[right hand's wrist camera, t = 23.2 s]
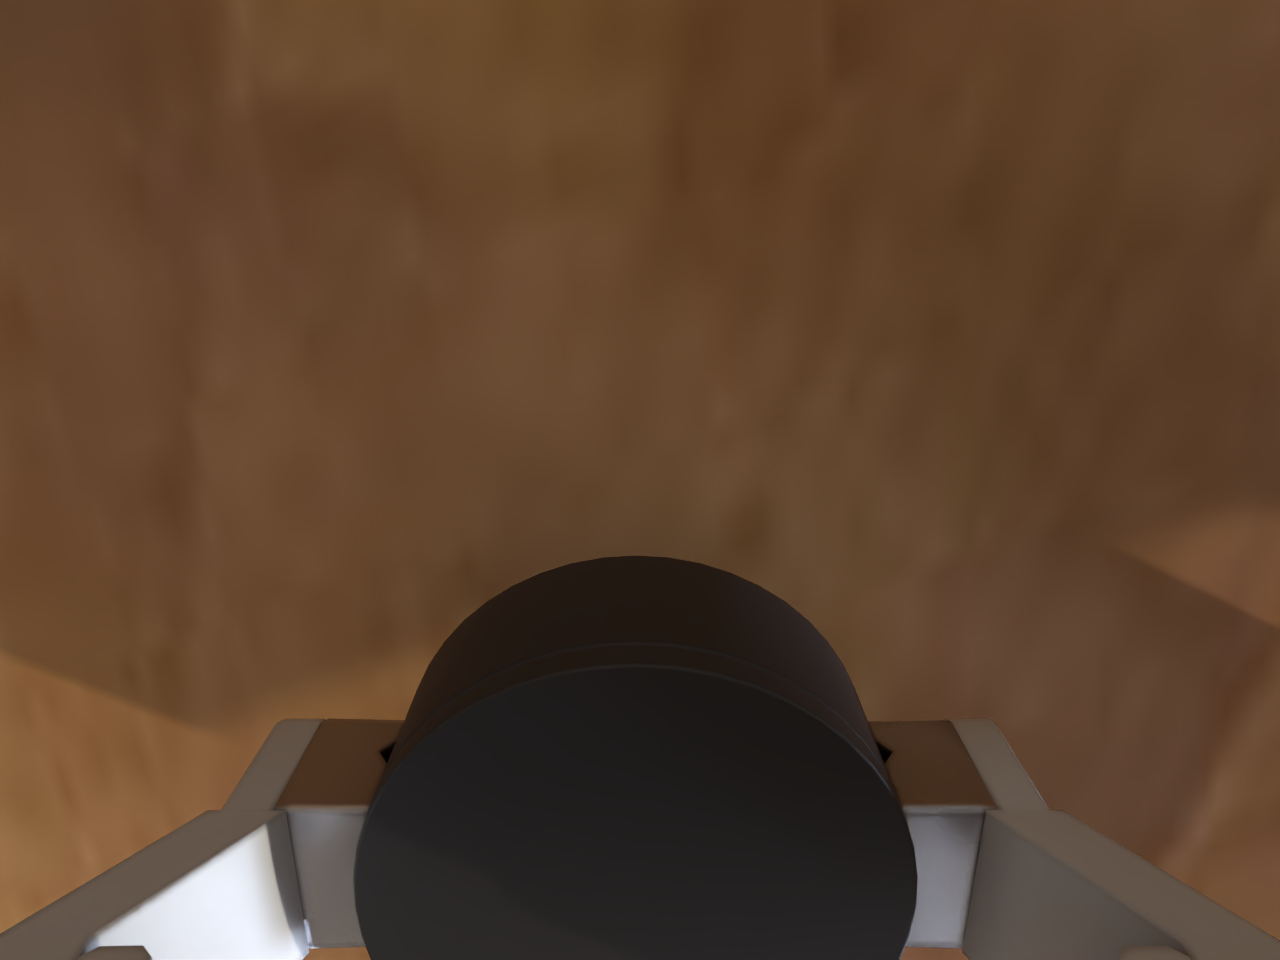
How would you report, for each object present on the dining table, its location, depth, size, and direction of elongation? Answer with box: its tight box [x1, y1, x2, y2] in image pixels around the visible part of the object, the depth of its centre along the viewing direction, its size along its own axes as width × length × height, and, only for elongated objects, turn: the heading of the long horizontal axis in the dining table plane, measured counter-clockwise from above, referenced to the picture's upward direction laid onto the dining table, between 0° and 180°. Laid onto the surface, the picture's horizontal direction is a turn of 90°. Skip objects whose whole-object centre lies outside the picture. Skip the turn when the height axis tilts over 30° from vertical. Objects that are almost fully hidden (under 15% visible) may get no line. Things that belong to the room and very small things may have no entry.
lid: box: [353, 556, 918, 960], centre depth 10 cm, size 5×5×2 cm
